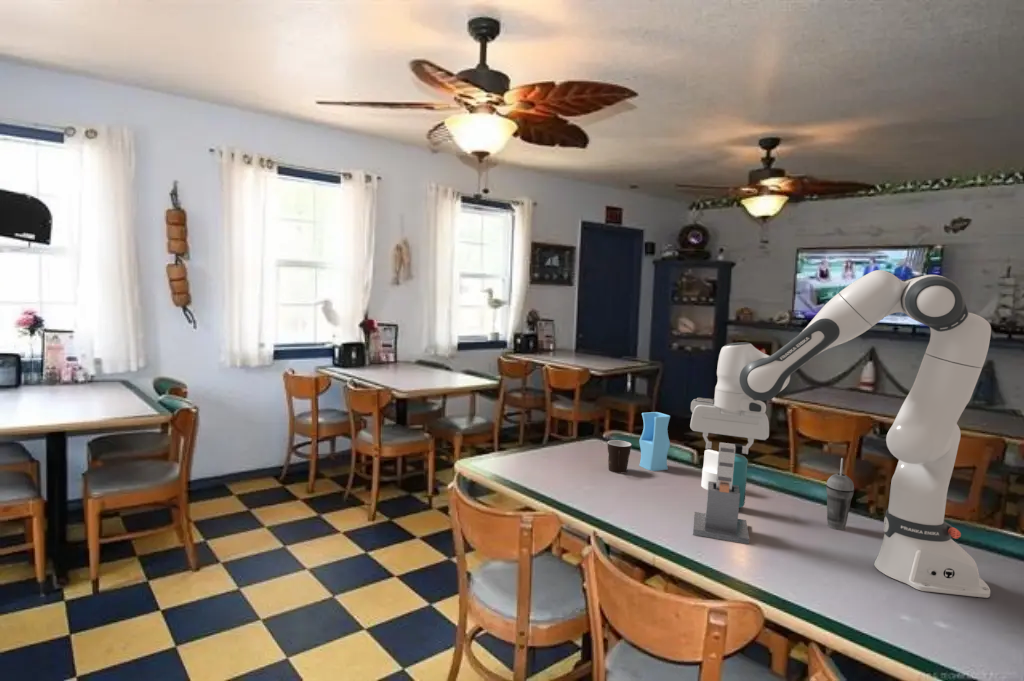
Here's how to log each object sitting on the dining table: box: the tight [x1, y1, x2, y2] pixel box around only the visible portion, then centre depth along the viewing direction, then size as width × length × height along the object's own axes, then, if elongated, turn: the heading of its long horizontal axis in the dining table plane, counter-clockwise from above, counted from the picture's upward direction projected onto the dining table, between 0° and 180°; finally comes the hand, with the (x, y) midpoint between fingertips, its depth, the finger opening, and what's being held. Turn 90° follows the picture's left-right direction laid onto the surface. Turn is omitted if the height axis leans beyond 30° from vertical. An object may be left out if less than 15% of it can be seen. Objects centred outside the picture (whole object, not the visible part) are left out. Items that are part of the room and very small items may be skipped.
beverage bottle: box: [732, 443, 749, 508], centre depth 181 cm, size 6×7×20 cm
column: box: [716, 442, 736, 492], centre depth 163 cm, size 4×4×22 cm
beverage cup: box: [825, 457, 855, 531], centre depth 170 cm, size 7×7×20 cm
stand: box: [692, 481, 750, 545], centre depth 163 cm, size 14×14×14 cm
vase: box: [638, 411, 671, 472], centre depth 220 cm, size 8×8×20 cm
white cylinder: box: [700, 449, 719, 491], centre depth 201 cm, size 9×9×12 cm
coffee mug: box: [606, 439, 632, 474], centre depth 213 cm, size 12×9×10 cm
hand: (726, 450), depth 162 cm, fingers open, 8 cm apart
